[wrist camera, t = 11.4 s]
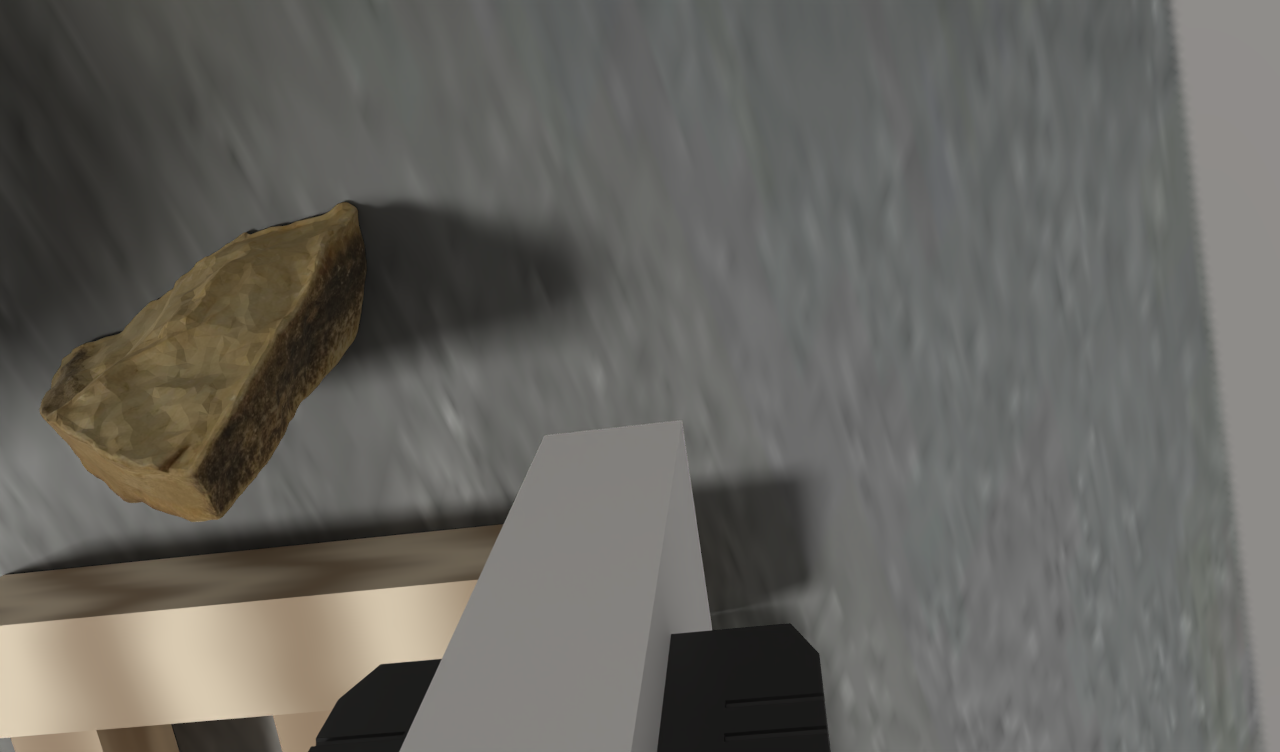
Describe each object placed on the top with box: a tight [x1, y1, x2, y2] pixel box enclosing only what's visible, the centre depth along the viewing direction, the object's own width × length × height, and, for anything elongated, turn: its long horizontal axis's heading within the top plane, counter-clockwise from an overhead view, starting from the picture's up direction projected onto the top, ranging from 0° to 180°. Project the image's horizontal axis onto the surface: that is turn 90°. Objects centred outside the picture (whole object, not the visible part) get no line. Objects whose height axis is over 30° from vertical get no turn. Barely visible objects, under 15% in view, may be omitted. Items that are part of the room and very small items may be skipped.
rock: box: [40, 202, 367, 522], centre depth 36 cm, size 11×9×10 cm
